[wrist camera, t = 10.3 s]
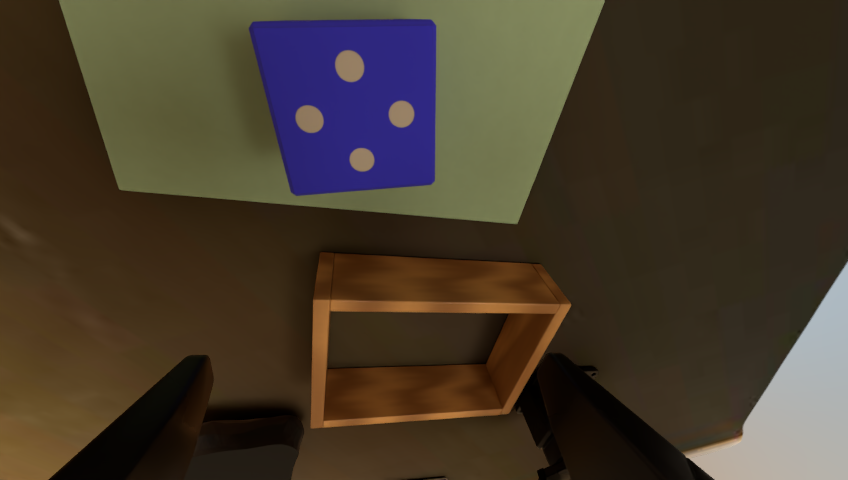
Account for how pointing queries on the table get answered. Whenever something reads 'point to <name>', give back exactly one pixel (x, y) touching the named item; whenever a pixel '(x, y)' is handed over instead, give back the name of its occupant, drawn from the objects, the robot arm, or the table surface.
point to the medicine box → (438, 479)
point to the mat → (251, 119)
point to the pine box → (430, 292)
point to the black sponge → (247, 449)
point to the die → (351, 101)
